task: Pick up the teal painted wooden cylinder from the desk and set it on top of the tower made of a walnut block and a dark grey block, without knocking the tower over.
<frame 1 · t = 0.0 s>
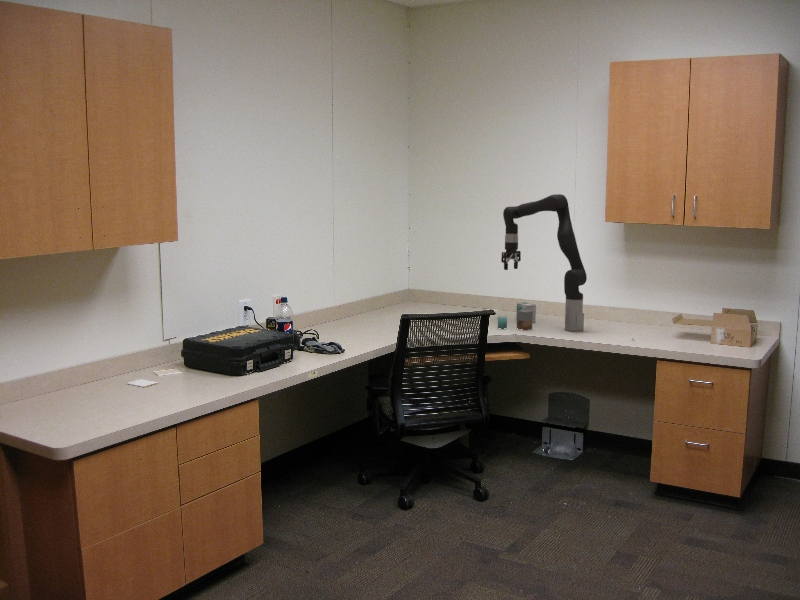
hand: (510, 269, 468), 29 cm above the table, tool pointing down, fingers open, 8 cm apart
walnut base block: (524, 328, 443), on the table, touching grey top block
grey top block: (524, 319, 442), point 5 cm above the table, touching walnut base block
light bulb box: (525, 322, 463), on the table
teal cylinder: (502, 328, 444), on the table
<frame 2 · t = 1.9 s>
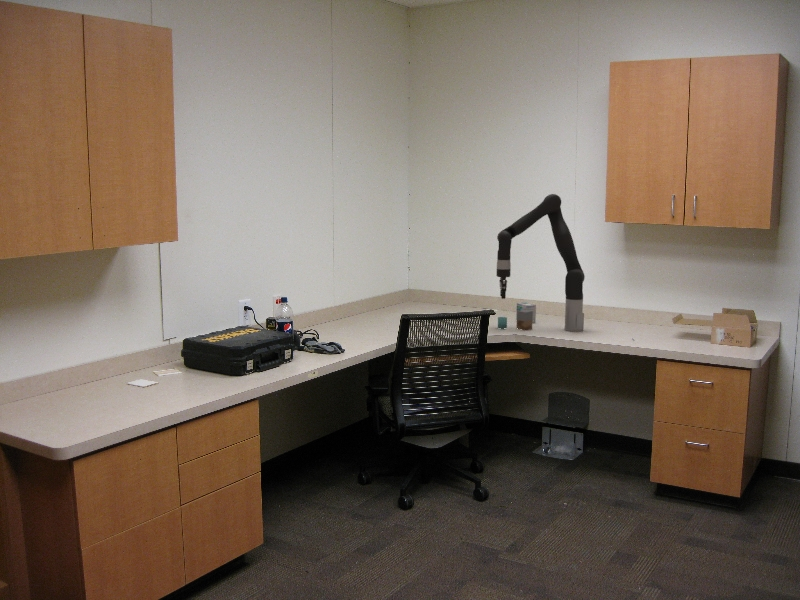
hand: (502, 297, 441), 17 cm above the table, tool pointing down, fingers open, 8 cm apart
nothing on the table moved.
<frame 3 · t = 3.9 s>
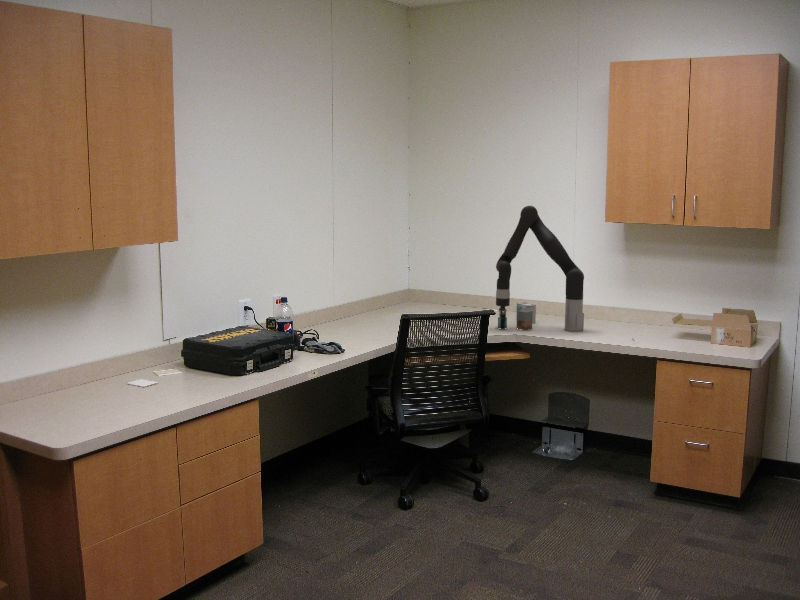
hand: (502, 327, 444), 0 cm above the table, tool pointing down, fingers closed on teal cylinder, 5 cm apart
teal cylinder: (502, 328, 444), on the table, touching gripper
everything else where it was.
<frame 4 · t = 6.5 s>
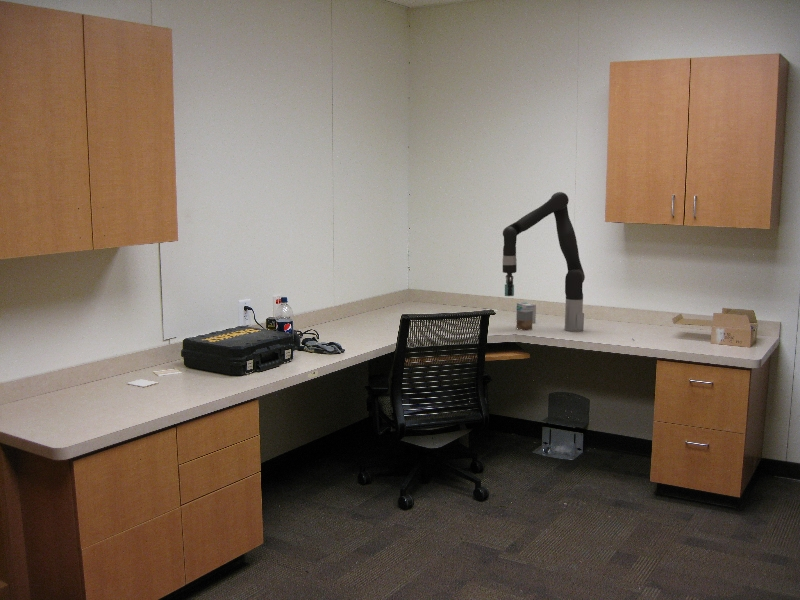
hand: (509, 294, 440), 19 cm above the table, tool pointing down, fingers closed on teal cylinder, 5 cm apart
teal cylinder: (509, 295, 440), point 18 cm above the table, touching gripper
everything else where it was.
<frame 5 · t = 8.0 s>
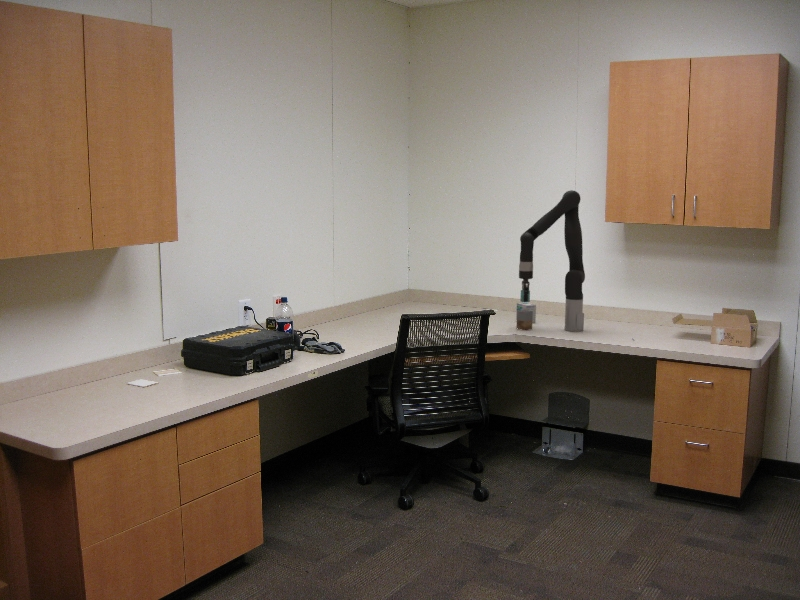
hand: (525, 300, 440), 16 cm above the table, tool pointing down, fingers closed on teal cylinder, 5 cm apart
teal cylinder: (525, 301, 440), point 15 cm above the table, touching gripper
everything else where it was.
when the fingers open (12 cm above the table, at t = 9.3 s): teal cylinder drops 1 cm, resting on grey top block.
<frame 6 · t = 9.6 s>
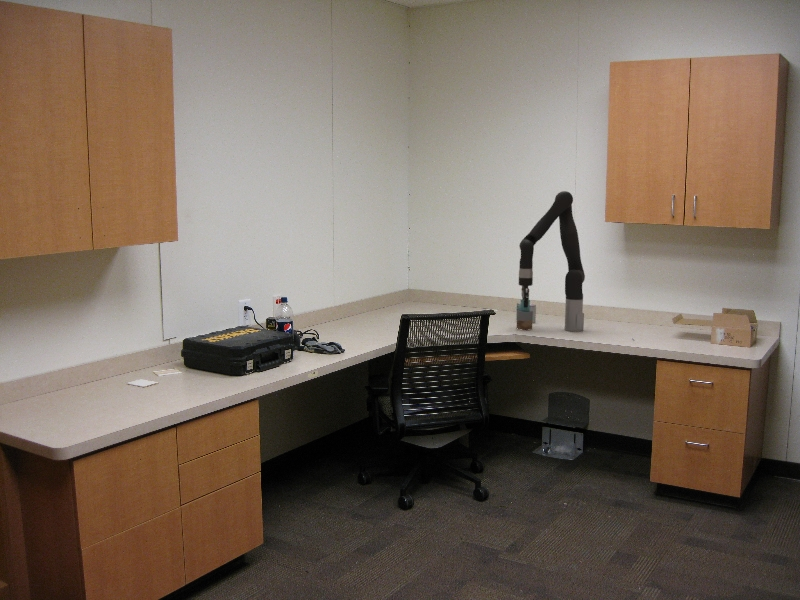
hand: (524, 306, 441), 13 cm above the table, tool pointing down, fingers open, 8 cm apart
grey top block: (524, 320, 442), point 5 cm above the table, touching teal cylinder, walnut base block
teal cylinder: (524, 311, 441), point 10 cm above the table, touching grey top block
everything else where it was.
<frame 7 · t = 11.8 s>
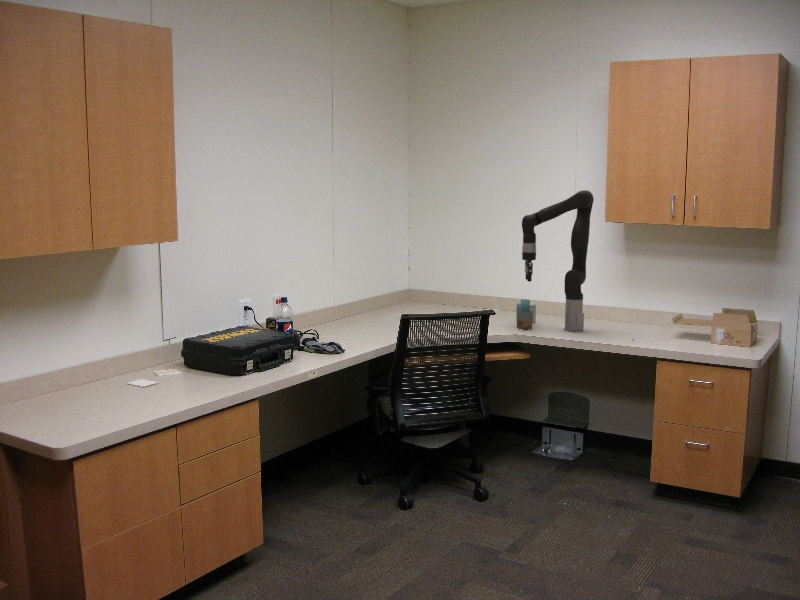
hand: (528, 280, 446), 26 cm above the table, tool pointing down, fingers open, 8 cm apart
nothing on the table moved.
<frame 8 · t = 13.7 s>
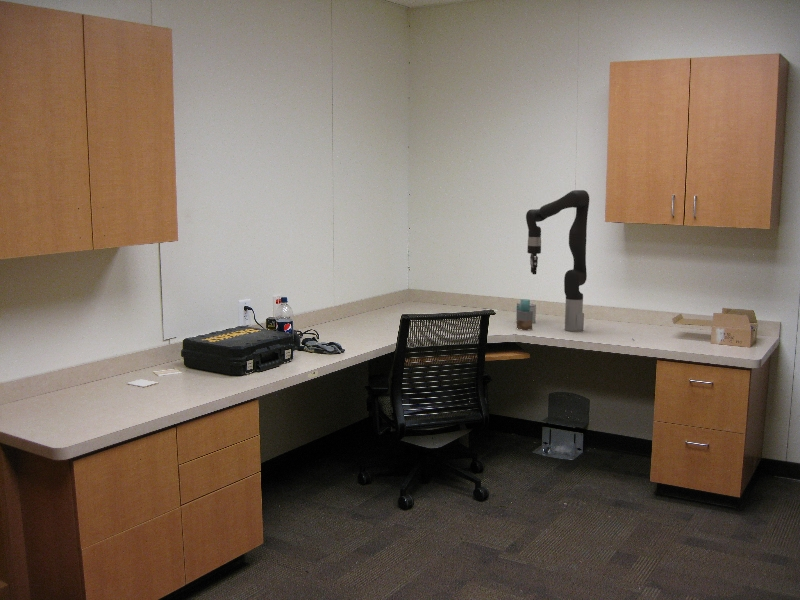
hand: (533, 273, 458), 28 cm above the table, tool pointing down, fingers open, 8 cm apart
nothing on the table moved.
at the end: teal cylinder 0.1 cm off-centre on the walnut base block, point 10.0 cm above the walnut base block's base; grey top block 0.0 cm off-centre on the walnut base block, point 5.0 cm above the walnut base block's base; teal cylinder tilted 0° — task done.
